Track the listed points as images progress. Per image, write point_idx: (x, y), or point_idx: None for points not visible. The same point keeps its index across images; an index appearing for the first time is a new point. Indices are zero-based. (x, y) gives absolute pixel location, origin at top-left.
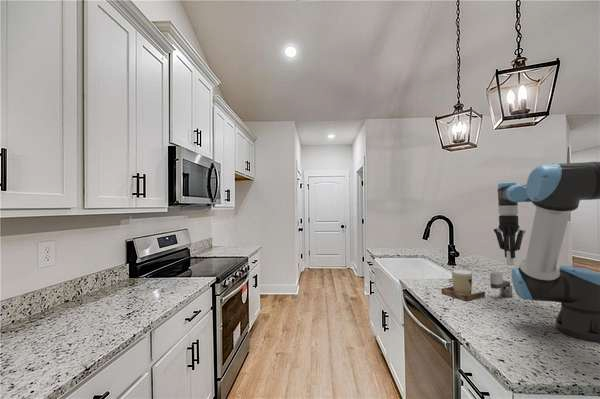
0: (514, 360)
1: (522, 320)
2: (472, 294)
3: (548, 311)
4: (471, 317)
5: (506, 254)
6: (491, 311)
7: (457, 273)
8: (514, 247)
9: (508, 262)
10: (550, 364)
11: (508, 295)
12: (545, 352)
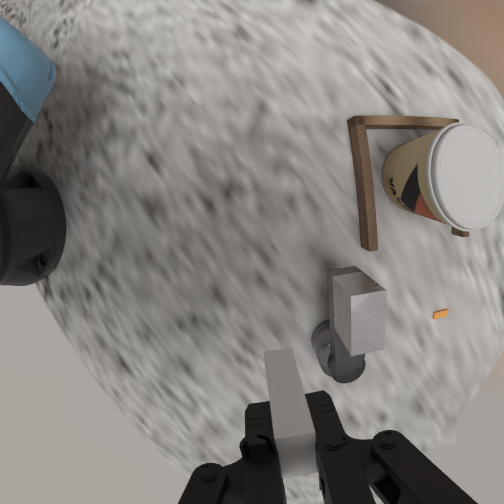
0: None
1: (119, 139)
2: (364, 161)
3: (150, 311)
4: (207, 9)
5: (316, 412)
6: (221, 109)
7: (461, 124)
8: (220, 491)
9: (281, 362)
10: None
11: (316, 331)
12: None
